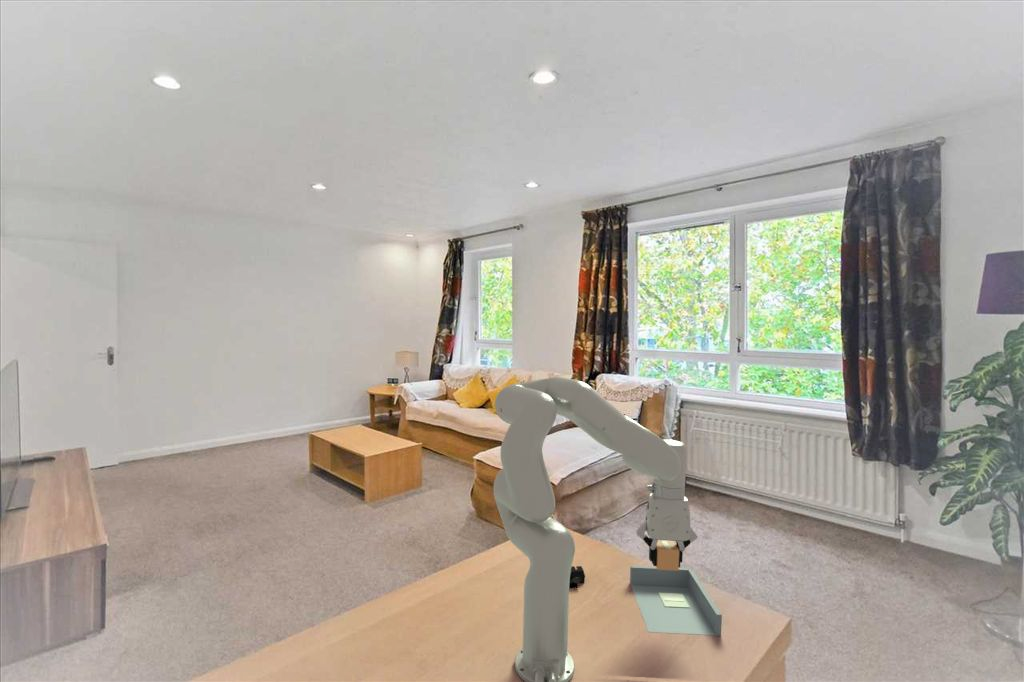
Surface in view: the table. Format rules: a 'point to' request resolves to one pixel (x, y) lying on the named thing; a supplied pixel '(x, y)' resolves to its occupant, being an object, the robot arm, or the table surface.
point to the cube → (667, 556)
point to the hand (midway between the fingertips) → (665, 563)
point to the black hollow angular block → (576, 576)
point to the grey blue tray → (674, 601)
